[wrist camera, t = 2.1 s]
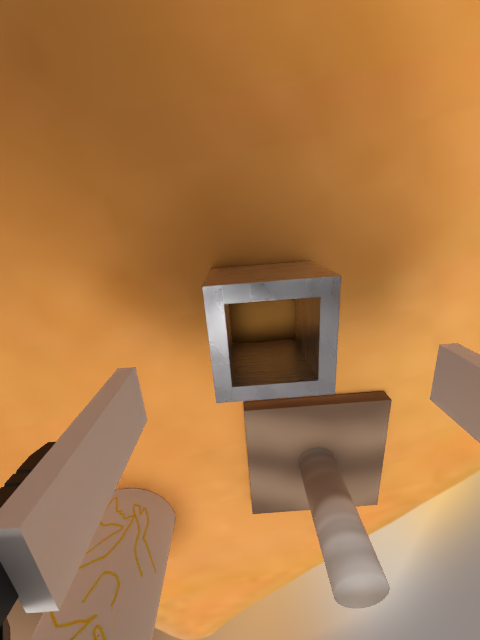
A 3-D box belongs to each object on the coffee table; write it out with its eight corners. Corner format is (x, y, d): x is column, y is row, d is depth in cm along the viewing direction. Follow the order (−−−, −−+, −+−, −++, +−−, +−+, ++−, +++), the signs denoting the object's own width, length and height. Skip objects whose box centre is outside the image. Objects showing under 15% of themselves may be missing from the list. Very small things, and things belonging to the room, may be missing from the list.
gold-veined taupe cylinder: (172, 488, 26) (127, 687, 15) (177, 543, 29) (141, 747, 18) (87, 488, 26) (-24, 691, 15) (100, 544, 29) (14, 751, 17)
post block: (243, 401, 23) (250, 528, 13) (383, 391, 23) (491, 510, 13) (251, 501, 27) (261, 654, 18) (371, 493, 27) (447, 640, 17)
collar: (211, 268, 19) (202, 286, 14) (309, 260, 19) (341, 275, 14) (220, 356, 22) (216, 403, 16) (308, 349, 22) (334, 393, 16)
